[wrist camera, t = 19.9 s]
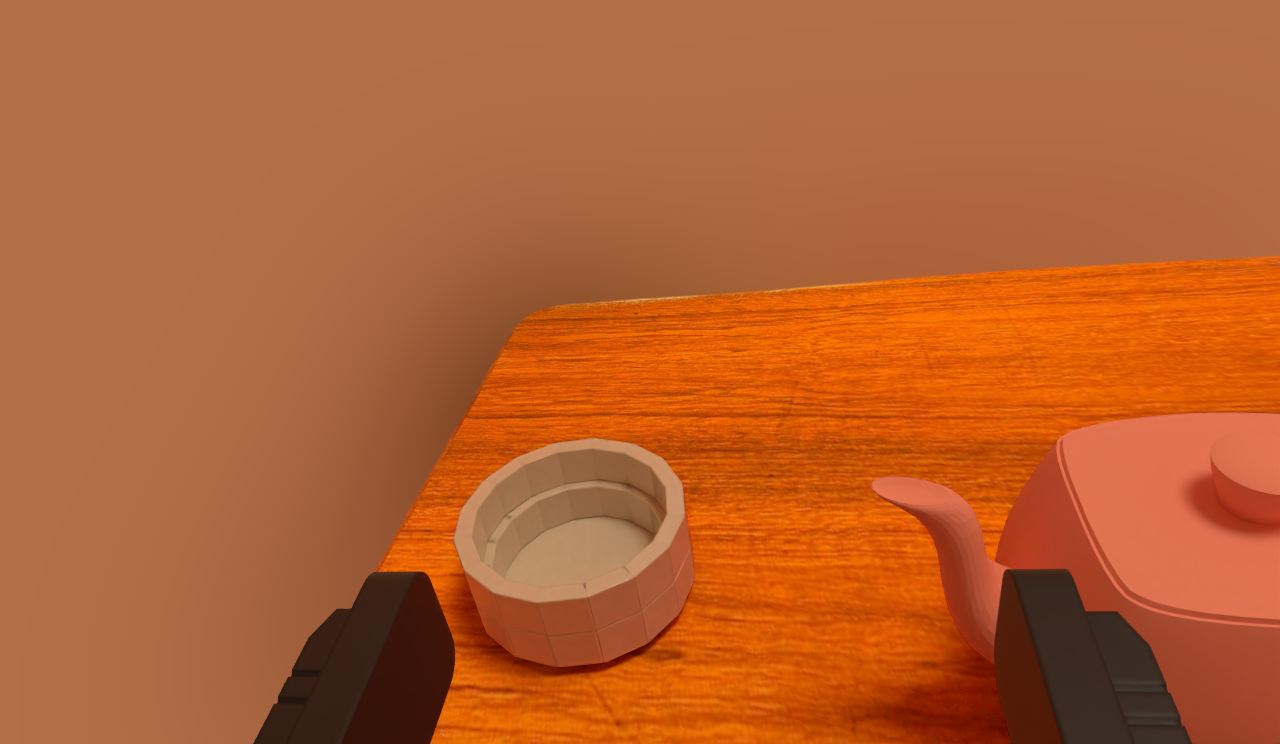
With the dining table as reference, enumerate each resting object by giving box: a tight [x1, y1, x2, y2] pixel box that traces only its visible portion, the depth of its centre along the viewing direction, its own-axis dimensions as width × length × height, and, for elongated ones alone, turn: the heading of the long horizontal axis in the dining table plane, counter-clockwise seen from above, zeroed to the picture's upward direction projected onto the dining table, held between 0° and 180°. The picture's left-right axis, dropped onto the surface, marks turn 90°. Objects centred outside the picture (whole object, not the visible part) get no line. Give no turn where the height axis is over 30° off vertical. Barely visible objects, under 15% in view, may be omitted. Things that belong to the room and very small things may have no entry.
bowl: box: [454, 438, 695, 667], centre depth 39 cm, size 10×10×4 cm
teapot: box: [872, 413, 1280, 744], centre depth 28 cm, size 20×12×12 cm, turn 83°
